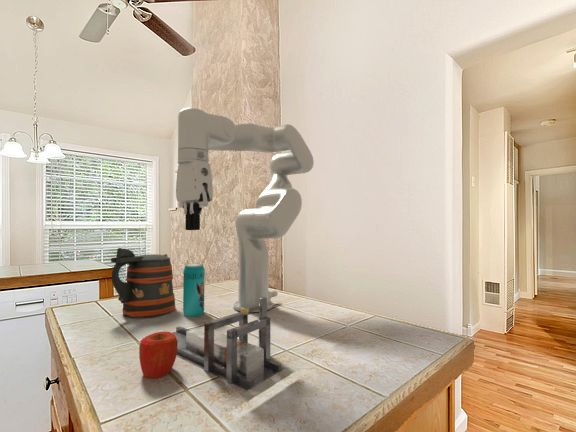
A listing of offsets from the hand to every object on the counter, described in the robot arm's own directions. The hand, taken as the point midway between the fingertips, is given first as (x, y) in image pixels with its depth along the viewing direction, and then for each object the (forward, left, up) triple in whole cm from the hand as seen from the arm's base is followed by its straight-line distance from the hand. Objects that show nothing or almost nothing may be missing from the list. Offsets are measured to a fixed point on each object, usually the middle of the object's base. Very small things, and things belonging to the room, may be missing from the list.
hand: (192, 229), depth 78 cm
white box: (+8, +22, -24) cm, 34 cm away
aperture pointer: (+4, +26, -25) cm, 36 cm away
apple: (+18, +17, -25) cm, 35 cm away
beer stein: (+1, -23, -25) cm, 34 cm away
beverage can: (-6, -8, -25) cm, 27 cm away
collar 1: (+8, +23, -25) cm, 35 cm away
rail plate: (+8, +17, -25) cm, 31 cm away
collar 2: (+8, +29, -25) cm, 39 cm away
